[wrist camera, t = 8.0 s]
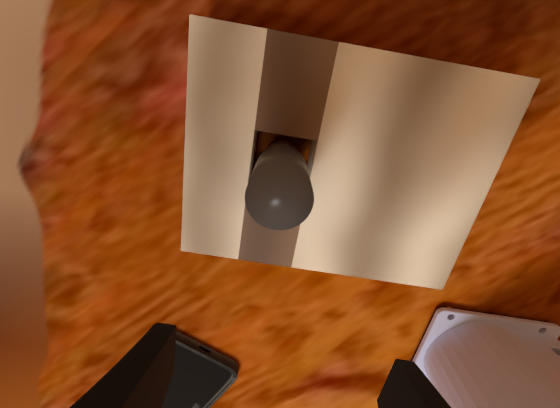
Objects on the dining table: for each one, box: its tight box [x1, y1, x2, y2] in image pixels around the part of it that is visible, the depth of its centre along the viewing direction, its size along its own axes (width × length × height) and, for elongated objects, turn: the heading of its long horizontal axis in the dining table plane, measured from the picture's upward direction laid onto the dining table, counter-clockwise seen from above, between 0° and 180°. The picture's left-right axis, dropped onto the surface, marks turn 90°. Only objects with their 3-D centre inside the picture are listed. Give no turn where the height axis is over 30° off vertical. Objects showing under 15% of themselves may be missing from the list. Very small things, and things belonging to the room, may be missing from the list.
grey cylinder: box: [245, 140, 314, 230], centre depth 14 cm, size 3×3×7 cm
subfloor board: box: [181, 14, 540, 290], centre depth 16 cm, size 16×12×2 cm
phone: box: [161, 331, 239, 408], centre depth 25 cm, size 8×1×15 cm
